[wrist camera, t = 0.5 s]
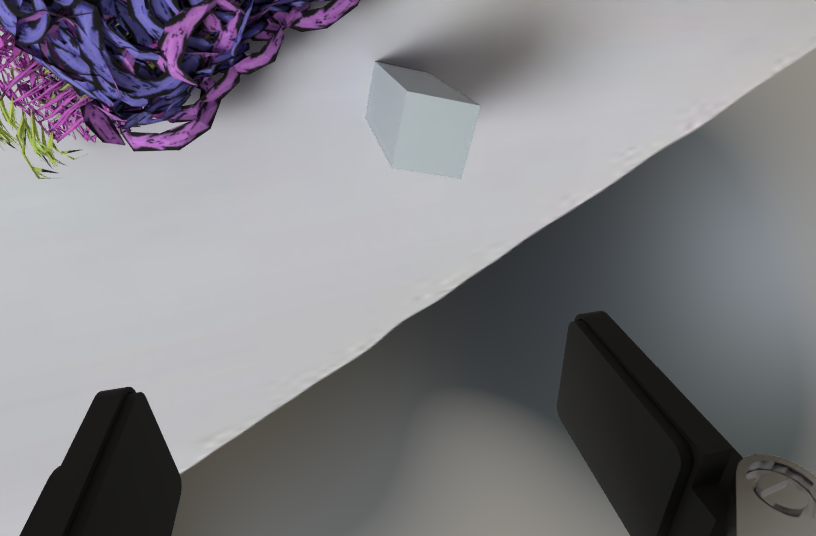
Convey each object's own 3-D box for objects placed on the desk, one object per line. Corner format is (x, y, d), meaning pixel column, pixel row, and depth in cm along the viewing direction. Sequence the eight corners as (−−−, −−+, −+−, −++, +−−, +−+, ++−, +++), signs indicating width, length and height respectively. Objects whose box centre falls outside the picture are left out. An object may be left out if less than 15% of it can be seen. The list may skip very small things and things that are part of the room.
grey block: (375, 61, 35) (407, 91, 24) (428, 72, 36) (481, 106, 26) (365, 118, 36) (391, 168, 26) (416, 127, 38) (460, 179, 27)
